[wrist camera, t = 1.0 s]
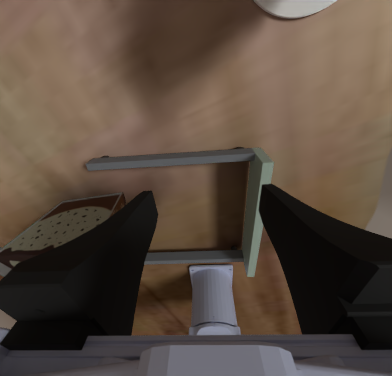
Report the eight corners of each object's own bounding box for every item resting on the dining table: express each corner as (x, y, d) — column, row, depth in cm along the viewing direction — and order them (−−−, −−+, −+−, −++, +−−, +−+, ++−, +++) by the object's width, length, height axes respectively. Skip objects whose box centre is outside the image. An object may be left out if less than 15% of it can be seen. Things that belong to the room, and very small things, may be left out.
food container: (75, 232, 28) (22, 297, 20) (52, 202, 25) (-23, 264, 17) (147, 223, 27) (122, 289, 18) (132, 190, 24) (95, 251, 15)
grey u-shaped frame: (246, 248, 29) (254, 276, 25) (135, 252, 30) (124, 279, 26) (258, 145, 20) (274, 162, 16) (96, 155, 21) (71, 174, 17)
